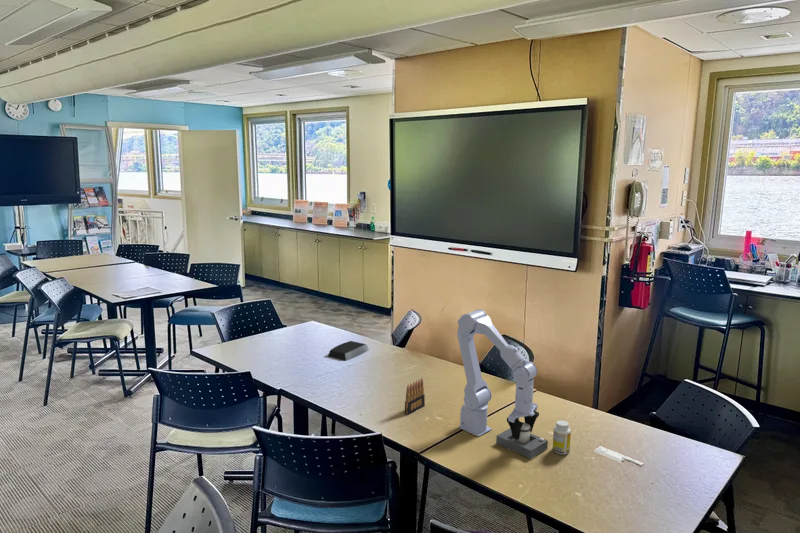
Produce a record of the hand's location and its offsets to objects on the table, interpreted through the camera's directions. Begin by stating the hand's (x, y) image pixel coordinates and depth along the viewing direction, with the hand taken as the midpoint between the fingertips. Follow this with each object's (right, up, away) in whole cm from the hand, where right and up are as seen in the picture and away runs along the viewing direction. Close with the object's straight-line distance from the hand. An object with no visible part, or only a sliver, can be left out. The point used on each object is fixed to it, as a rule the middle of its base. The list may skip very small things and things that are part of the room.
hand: (522, 435), depth 187 cm
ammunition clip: (-36, +1, +28) cm, 46 cm away
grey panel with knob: (0, -4, +1) cm, 4 cm away
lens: (0, -3, +1) cm, 3 cm away
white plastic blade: (+30, -6, -6) cm, 31 cm away
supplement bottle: (+13, -5, -2) cm, 14 cm away
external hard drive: (-68, +13, +93) cm, 116 cm away
